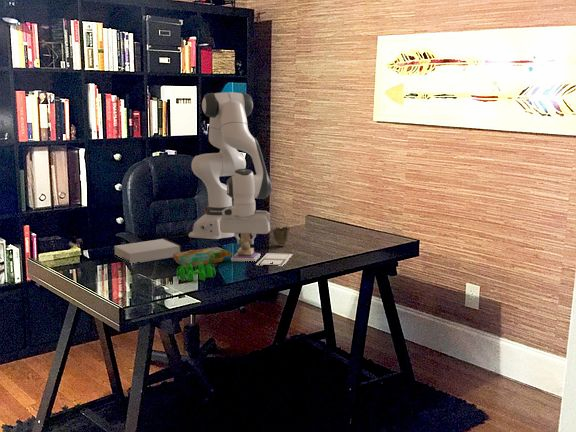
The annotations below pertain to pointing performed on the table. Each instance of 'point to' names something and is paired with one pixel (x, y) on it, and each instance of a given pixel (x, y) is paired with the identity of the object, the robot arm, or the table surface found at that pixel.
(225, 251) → the multicoloured oblong shape
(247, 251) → the stamp
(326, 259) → the table surface
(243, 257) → the ink pad
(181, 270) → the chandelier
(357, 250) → the table surface
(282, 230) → the cup
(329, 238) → the table surface
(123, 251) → the disc drive
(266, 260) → the form
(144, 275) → the table surface
